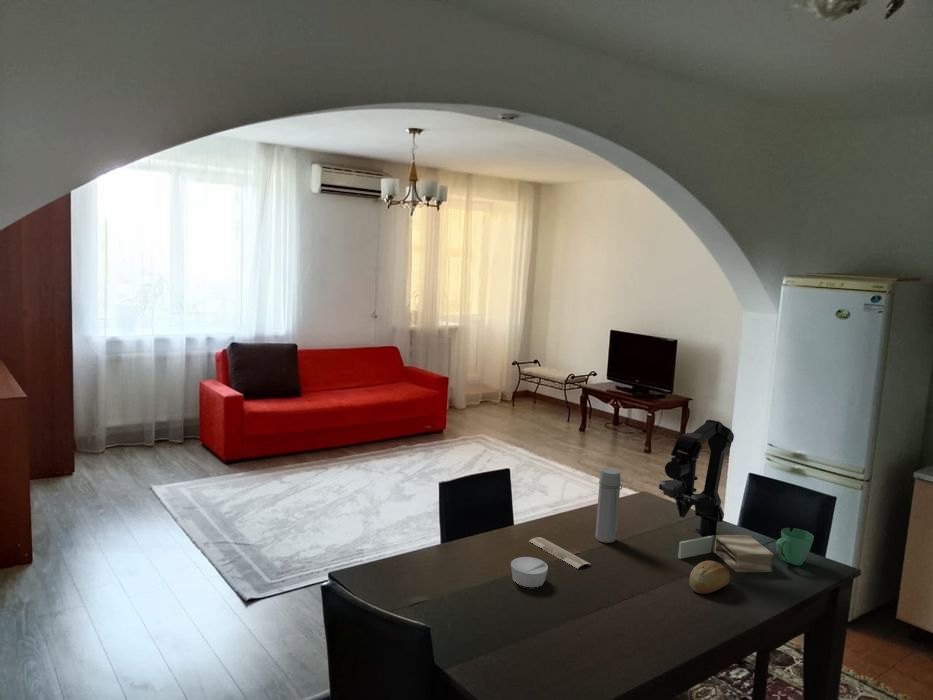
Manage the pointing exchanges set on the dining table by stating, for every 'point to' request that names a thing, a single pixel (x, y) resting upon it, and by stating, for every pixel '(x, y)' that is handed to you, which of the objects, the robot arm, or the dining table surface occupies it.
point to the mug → (794, 545)
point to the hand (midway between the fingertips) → (682, 517)
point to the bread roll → (709, 577)
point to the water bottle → (608, 505)
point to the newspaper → (558, 552)
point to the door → (696, 547)
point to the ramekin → (529, 571)
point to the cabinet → (743, 553)
